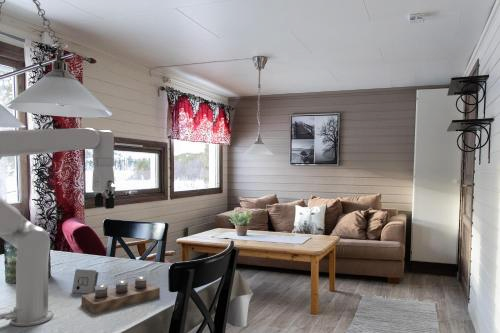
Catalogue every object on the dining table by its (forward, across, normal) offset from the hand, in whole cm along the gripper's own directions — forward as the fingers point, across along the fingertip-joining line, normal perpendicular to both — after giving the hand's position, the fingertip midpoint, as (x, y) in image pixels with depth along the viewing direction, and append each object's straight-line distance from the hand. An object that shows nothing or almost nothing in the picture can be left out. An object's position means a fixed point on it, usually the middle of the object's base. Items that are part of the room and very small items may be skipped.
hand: (104, 207), depth 148 cm
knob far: (+33, +4, +13) cm, 36 cm away
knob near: (+33, +4, -3) cm, 33 cm away
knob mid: (+33, +4, +5) cm, 34 cm away
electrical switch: (+36, -17, -1) cm, 40 cm away
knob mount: (+36, +4, +5) cm, 37 cm away
